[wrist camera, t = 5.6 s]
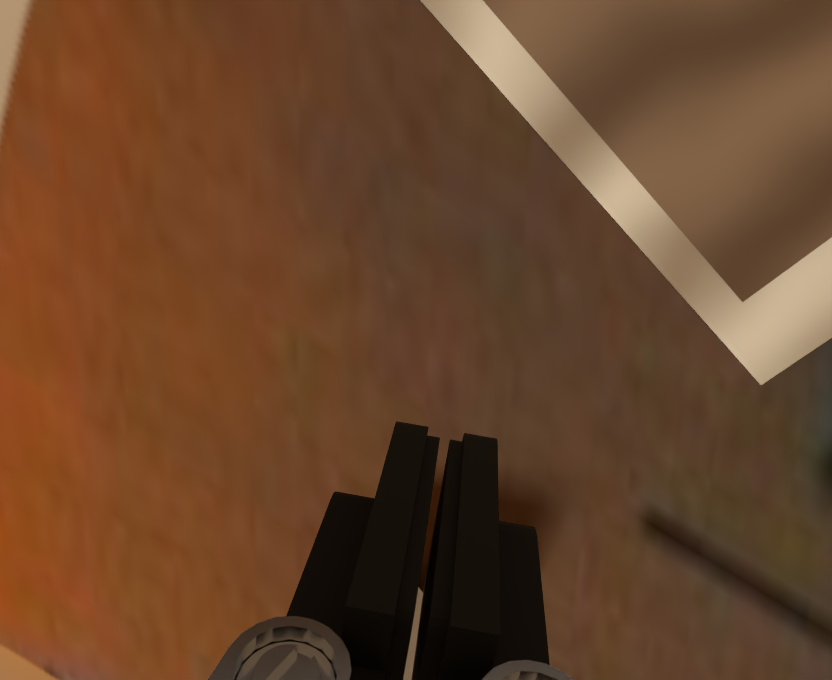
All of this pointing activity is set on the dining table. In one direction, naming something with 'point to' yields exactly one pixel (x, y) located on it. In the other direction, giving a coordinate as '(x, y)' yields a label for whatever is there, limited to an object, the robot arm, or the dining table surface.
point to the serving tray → (689, 143)
